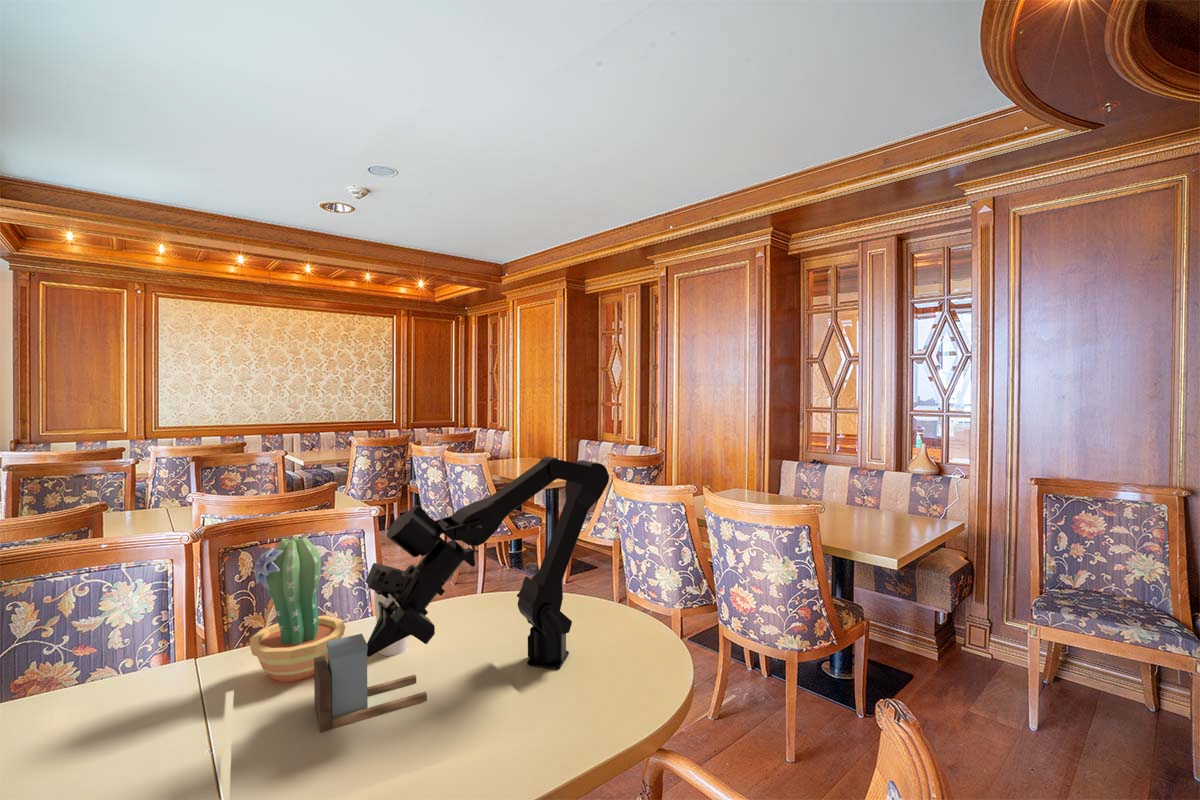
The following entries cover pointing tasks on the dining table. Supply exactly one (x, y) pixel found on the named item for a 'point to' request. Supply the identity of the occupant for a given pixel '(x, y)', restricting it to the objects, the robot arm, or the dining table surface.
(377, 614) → the drinking glass
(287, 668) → the potted cactus
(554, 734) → the dining table surface
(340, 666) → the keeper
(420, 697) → the track
